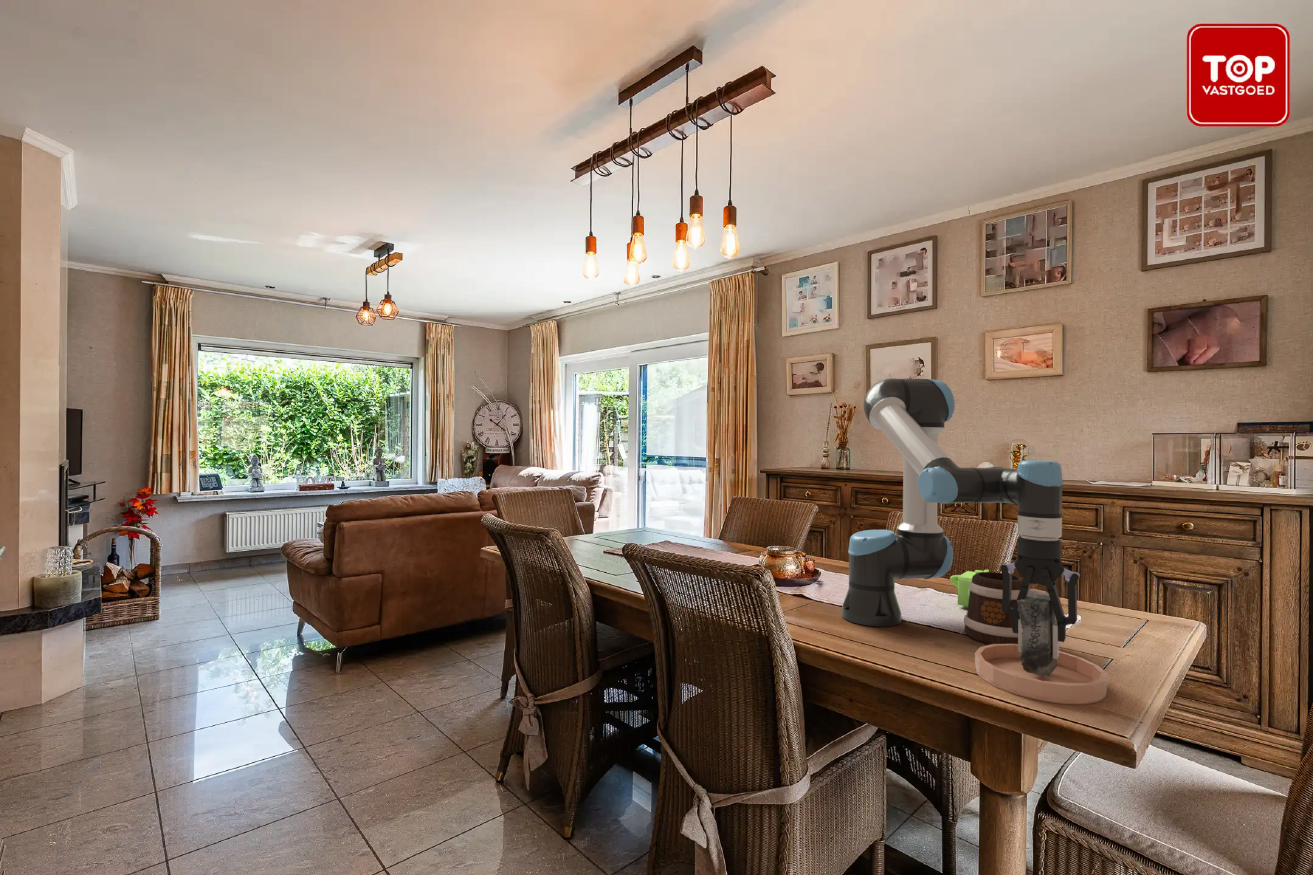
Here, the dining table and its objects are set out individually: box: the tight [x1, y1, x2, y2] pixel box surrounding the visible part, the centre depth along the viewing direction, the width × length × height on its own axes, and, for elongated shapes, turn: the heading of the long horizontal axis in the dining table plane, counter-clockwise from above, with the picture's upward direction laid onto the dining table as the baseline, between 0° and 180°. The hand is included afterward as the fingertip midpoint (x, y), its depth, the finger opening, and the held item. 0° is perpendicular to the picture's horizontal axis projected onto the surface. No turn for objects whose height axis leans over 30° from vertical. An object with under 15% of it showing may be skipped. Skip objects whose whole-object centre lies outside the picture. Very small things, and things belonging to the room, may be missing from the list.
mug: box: [963, 571, 1057, 645], centre depth 145 cm, size 20×15×15 cm
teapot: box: [949, 569, 990, 609], centre depth 173 cm, size 15×13×11 cm
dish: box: [974, 644, 1108, 706], centre depth 121 cm, size 22×22×4 cm
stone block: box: [1017, 593, 1057, 676], centre depth 121 cm, size 9×14×5 cm
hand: (1038, 653), depth 121 cm, fingers closed on stone block, 5 cm apart
